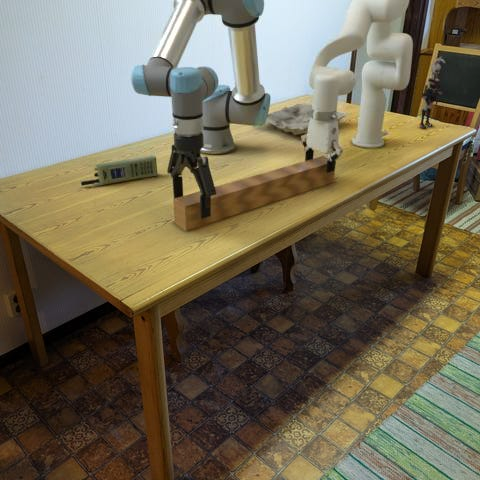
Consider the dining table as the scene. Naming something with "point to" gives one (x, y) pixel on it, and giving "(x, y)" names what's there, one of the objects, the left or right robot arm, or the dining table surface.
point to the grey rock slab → (295, 118)
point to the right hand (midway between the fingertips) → (319, 166)
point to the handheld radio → (124, 170)
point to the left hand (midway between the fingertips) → (191, 207)
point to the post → (253, 192)
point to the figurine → (431, 92)
